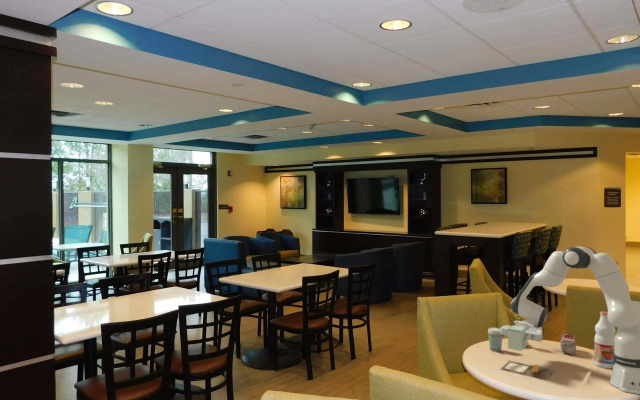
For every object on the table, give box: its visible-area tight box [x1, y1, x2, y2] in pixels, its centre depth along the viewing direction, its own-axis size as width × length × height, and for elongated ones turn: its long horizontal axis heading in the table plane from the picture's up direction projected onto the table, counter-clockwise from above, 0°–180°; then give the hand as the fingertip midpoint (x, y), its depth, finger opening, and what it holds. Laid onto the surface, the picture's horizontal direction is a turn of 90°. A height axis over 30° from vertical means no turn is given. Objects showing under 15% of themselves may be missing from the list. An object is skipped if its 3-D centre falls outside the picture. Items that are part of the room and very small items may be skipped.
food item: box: [559, 333, 577, 356], centre depth 262 cm, size 14×8×10 cm, turn 155°
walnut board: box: [499, 360, 555, 382], centre depth 231 cm, size 22×16×1 cm
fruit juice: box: [593, 310, 616, 369], centre depth 241 cm, size 9×9×28 cm
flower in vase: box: [513, 313, 529, 347], centre depth 274 cm, size 13×11×25 cm
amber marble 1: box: [531, 367, 538, 373], centre depth 227 cm, size 3×3×3 cm
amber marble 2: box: [533, 364, 541, 371], centre depth 230 cm, size 3×3×3 cm
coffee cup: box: [487, 327, 504, 353], centre depth 263 cm, size 8×9×12 cm
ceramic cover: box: [507, 324, 527, 352], centre depth 234 cm, size 6×8×10 cm
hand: (517, 336), depth 234 cm, fingers closed on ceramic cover, 6 cm apart
